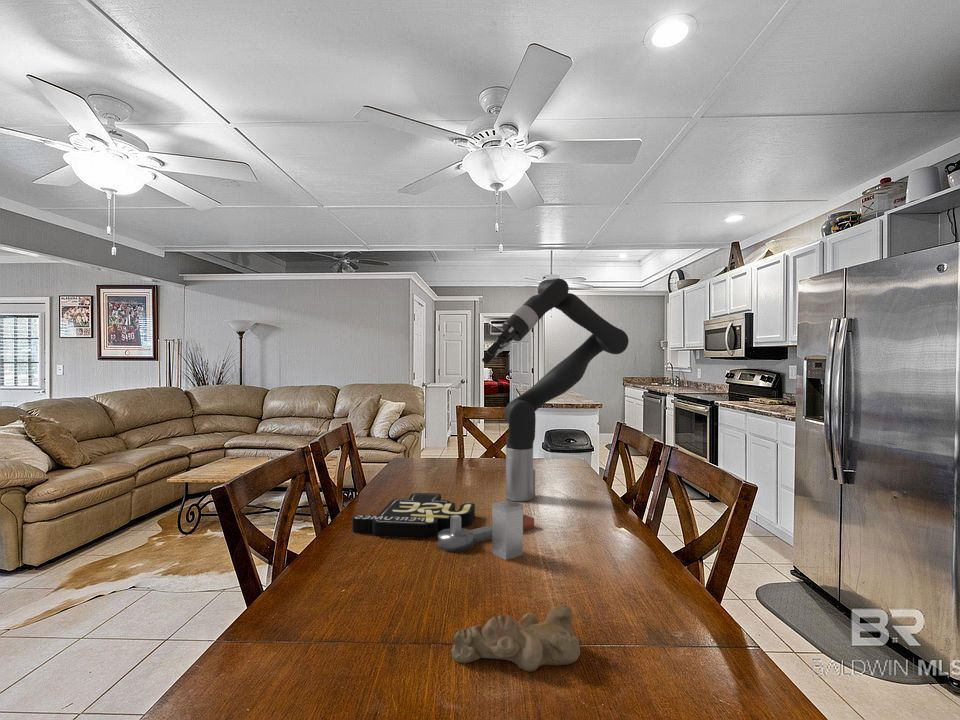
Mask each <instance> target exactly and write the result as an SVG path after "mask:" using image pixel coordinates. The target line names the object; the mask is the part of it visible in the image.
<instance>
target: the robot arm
mask: <svg viewBox="0 0 960 720" xmlns="http://www.w3.org/2000/svg"><path fill="white" fill-rule="evenodd" d="M569 289H570V288H569V284H568V282H567V280H566V279H565V280H564V279H562V278H559V277H558V278H549V279H545V280H544V279H543V280H542V281H540V283H539V284H538V286H537V294H536V295H532V296H530V297H529V298H528V299H527V300H526V302H524V303H523V304H522V305H521V306H519V308H517V309H516V310H515V311H514V312H513V313H512V314H511V315H510V316H509V317H508V318H507V319H506V320H505V321H504V322H503V323H502V331H501V332H500V334H499V335H498V336H497V337H496V339H495V341H494V342H493V343H492V344H491V345H490V347H488V348H487V350H486V353H487V354H486V355H485V356H483V358H482V359H481V361H482V362H483V363H484V365H488V364H489V363H490V362H491V361H493V359H495V358H497V357H498V355H499V354H500V353H502V352H503V351H504V350H505V349H506V348H507V347H509V345H510V344H511V343H512V342H513V341H515V342H520V341H522V340H523V338H525V336H526V335H527V334H528V333H529V332H530V331H531V330H533V328H534V327H535V326H536V325H537V323H538V322H539V321H540V320H541V319H542V317H544V315H546V313H547V312H549V311H551V310H552V309H554V308H555V309H556V310H559V311H560V312H561V313H563V314H564V315H565V316H566V317H568V319H570V320H571V321H572V322H573V323H575V324H577V325H579V326H580V327H581V328H583V329H584V330H586V331H588V332H589V333H591V335H589V337H588V338H586V340H585V341H584V342H583V343H582V344H580V345H579V347H577V348H576V349H575V350H573V351H572V352H571V353H570V354H568V355H567V357H565V358H564V359H563V360H562V361H561V360H560V362H559V363H558V364H556V365H555V366H554V367H553V368H551V369H550V370H549V371H548V372H547V373H546V374H545V375H543V376H542V378H540V379H539V380H538V381H537V382H536V383H535V384H534V385H533V386H532V387H530V388H529V389H528V390H527V391H525V392H523V393H521V394H520V395H519V396H516V397H515V398H514V399H512V400H511V401H509V402H508V403H507V405H506V406H505V409H504V411H503V414H504V419H505V421H506V422H507V423H508V434H507V438H506V440H505V451H506V452H505V499H507V500H511V501H513V502H528V501H531V500H533V499H534V498H536V469H534V442H535V439H536V420H537V419H536V411H538V409H540V407H542V406H543V405H544V404H546V403H547V402H549V401H551V400H554V399H556V398H558V397H559V396H561V395H564V394H565V393H566V392H568V391H569V390H571V389H572V388H573V387H574V386H575V385H577V384H578V382H580V381H581V380H582V378H583V377H584V375H585V373H586V371H587V369H588V366H589V363H591V361H592V360H593V359H594V358H595V357H597V356H598V355H599V354H600V353H602V352H606V353H608V354H611V355H620V354H622V353H624V352H625V350H627V348H628V346H629V337H628V334H627V332H625V331H624V330H622V329H621V328H618V327H617V326H615V325H613V324H612V323H610V322H608V321H607V320H606V319H605V318H603V317H602V316H600V315H599V314H598V313H597V312H596V311H594V310H593V309H592V308H591V307H590V306H589V305H587V303H586V302H584V301H583V300H582V298H579V296H577V295H576V294H575V293H571V292H569Z"/></svg>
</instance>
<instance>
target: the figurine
mask: <svg viewBox="0 0 960 720" xmlns="http://www.w3.org/2000/svg"><path fill="white" fill-rule="evenodd" d="M546 615H547V616H546V618H545V620H544V622H541V623H538V618H537V616H536V614H534V613H532V612H531V613H530V612H527V613H524V615H523V616H522V617H521V619H519V621H517V620H515V619H513V617H512V616H511V615H509V614H506V615H502V614H500V615H498V616H493V617H491V618H490V619H489V620H488V621H486V624H484V626H481V625H473V626H470V627H468V628H467V629H466V628H464V629H461V630H458V631H457V632H456V633H455V634H454V637H453V642H454V643H453V647H452V648H451V650H450V653H451V659H452V660H454V662H457V663H460V664H467V663H471V662H474V661H478V660H480V659H495V660H502V661H503V660H505V661H509V662H512V663H514V664H515V665H516V666H518V668H520V669H521V670H523V671H524V672H535V671H536V670H537V669H538V668H539V667H542V666H557V667H559V666H567V665H572V664H573V663H574V662H577V661H578V659H579V657H580V655H581V649H580V647H581V646H580V642H579V639H578V637H576V635H575V634H574V632H573V631H574V630H573V627H572V626H573V625H572V621H573V614H572V609H571V607H570V606H569V605H567V604H562V605H558V606H555V607H554V608H552V609H550V610H549V612H548V613H547V614H546Z"/></svg>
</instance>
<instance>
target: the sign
mask: <svg viewBox="0 0 960 720" xmlns="http://www.w3.org/2000/svg"><path fill="white" fill-rule="evenodd" d="M475 507H476V504H475V503H471V502H470V503H462V504H461V505H460V506H459V508H458V510H456V503H455V502H451V501H449V500H444V499H442V494H441V493H429V492H428V493H427V492H414V493H411V494H410V495H409V497H408V498H397V499H396V498H395V499H391V500H390V502H389V503H388V504H387V505H386V506H385V507H384V508H383V509H382V510H381V511H380V512H379V513H378V514H377V515H375V514H374V515H373V514H356V515H354V516H353V517H352V518H351V519H352V521H351V522H352V524H351V526H352V529H351V531H352V533H362V534H371V535H372V534H373V535H372V536H374V537H377V536H390V537H389V538H400V537H406V538H407V537H408V538H407V539H422V538H426V539H428V537H429V538H436V537H438V533H439V532H440V531H441V530H444V529H448V528H450V516H453V515H459V516H461V528H464V527H465V528H467V527H470V526H472V525H473V523H474V519H475V518H474V517H476V516H475V510H476V509H475ZM465 528H464V529H465ZM406 538H405V539H406Z"/></svg>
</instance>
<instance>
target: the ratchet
mask: <svg viewBox="0 0 960 720" xmlns="http://www.w3.org/2000/svg"><path fill="white" fill-rule="evenodd" d="M534 528H535V517H532V516H529V515H526V514H523V532H524V531H527V530H530V529H534ZM487 540H492V524H490V525H485V526H482V527H478V528H477V527H476V528H474V529H467V528H461V516H459V515H453V516H450V528H448V529H444V530H441V531H440V532H438V534H437V547H438V549H440V550H441V551H445V552H449V553H450V552H451V553H460V552H465V551H470V550H471V549H473V547H474V544H475V543H479V542H480V543H481V542H482V541H487Z"/></svg>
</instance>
